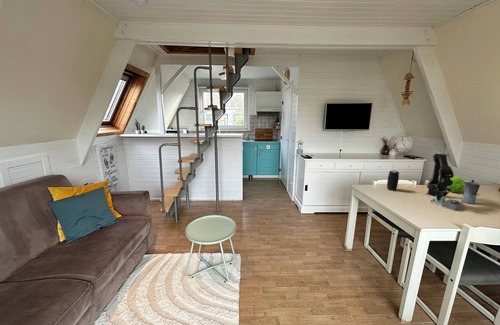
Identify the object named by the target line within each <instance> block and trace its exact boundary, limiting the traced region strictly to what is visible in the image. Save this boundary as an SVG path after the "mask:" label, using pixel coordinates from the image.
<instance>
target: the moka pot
mask: <svg viewBox="0 0 500 325" xmlns="http://www.w3.org/2000/svg"><path fill="white" fill-rule="evenodd" d="M480 187H481V184H480V183H478V182H475V180H474V179H472V180H471V181H465V190H464V192H463V195H462V198H461V201H460V202H463V203H466V204H472V205H475V204H477V193H478V192H479V189H480Z"/></svg>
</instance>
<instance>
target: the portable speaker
mask: <svg viewBox="0 0 500 325" xmlns="http://www.w3.org/2000/svg"><path fill="white" fill-rule="evenodd" d="M399 175H400V172H399V171H397V170H389V173H388V177H387V181H386V188H387V190H388V191H397V189H398V185H399V177H400V176H399Z"/></svg>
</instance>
